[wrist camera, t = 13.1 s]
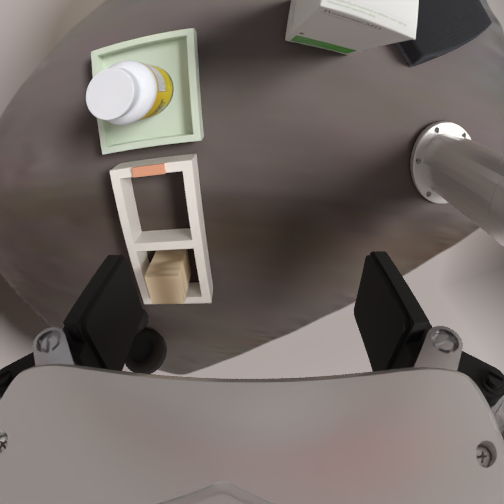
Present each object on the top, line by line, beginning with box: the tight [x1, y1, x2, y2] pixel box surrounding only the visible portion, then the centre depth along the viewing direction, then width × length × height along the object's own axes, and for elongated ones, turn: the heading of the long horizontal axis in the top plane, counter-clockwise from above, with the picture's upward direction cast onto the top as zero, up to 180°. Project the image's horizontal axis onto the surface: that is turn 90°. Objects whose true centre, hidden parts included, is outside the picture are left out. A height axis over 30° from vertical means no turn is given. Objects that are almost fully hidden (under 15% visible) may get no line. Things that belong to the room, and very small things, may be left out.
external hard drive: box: [396, 0, 492, 67], centre depth 22 cm, size 13×19×4 cm
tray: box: [91, 28, 204, 155], centre depth 29 cm, size 13×14×2 cm
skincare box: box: [285, 0, 419, 55], centre depth 20 cm, size 8×7×16 cm
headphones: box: [125, 309, 167, 374], centre depth 40 cm, size 9×15×20 cm, turn 15°
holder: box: [110, 154, 213, 304], centre depth 38 cm, size 10×21×4 cm, turn 2°
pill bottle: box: [86, 61, 174, 125], centre depth 24 cm, size 6×6×12 cm
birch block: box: [144, 249, 191, 304], centre depth 40 cm, size 4×4×7 cm
